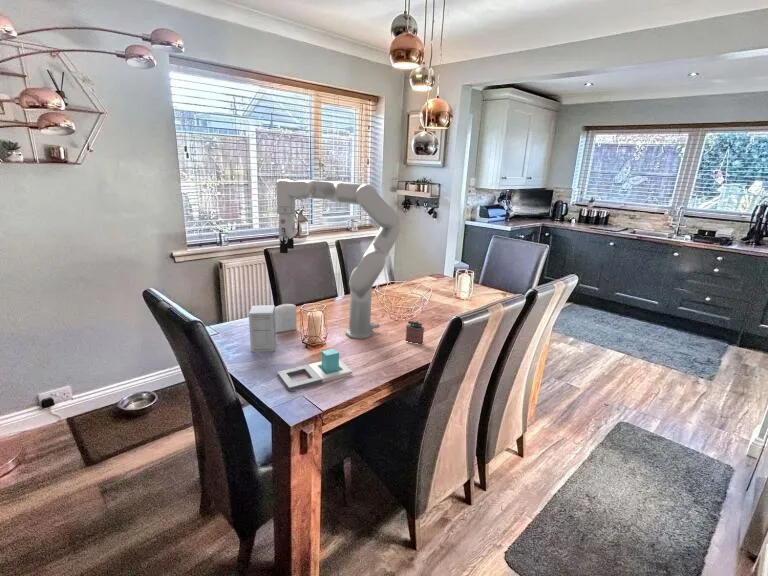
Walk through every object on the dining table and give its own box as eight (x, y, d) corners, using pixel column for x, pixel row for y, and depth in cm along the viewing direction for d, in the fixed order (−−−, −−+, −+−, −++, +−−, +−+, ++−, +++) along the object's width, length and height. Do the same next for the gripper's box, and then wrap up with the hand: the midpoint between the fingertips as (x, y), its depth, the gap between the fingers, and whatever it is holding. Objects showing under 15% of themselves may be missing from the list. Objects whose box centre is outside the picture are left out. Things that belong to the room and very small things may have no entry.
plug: (333, 367, 150) (334, 348, 148) (338, 372, 147) (339, 352, 145) (321, 370, 147) (321, 351, 145) (326, 375, 144) (326, 355, 142)
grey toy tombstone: (294, 326, 186) (294, 301, 182) (298, 329, 182) (297, 304, 179) (273, 330, 180) (272, 304, 177) (276, 333, 177) (275, 307, 173)
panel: (337, 361, 155) (337, 357, 155) (352, 374, 146) (352, 371, 145) (277, 375, 142) (277, 371, 142) (289, 391, 133) (289, 387, 132)
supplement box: (276, 342, 169) (275, 304, 164) (275, 351, 160) (273, 312, 155) (253, 342, 167) (251, 304, 162) (250, 352, 158) (248, 312, 153)
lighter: (423, 342, 176) (425, 321, 173) (422, 345, 173) (423, 324, 170) (406, 339, 178) (407, 318, 175) (404, 342, 175) (405, 321, 172)
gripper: (289, 213, 157) (290, 255, 162) (300, 208, 174) (300, 247, 179) (270, 212, 157) (272, 254, 162) (283, 207, 174) (283, 246, 179)
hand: (287, 250), depth 170 cm, fingers open, 9 cm apart
